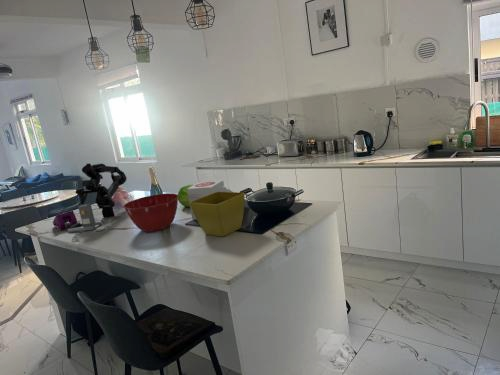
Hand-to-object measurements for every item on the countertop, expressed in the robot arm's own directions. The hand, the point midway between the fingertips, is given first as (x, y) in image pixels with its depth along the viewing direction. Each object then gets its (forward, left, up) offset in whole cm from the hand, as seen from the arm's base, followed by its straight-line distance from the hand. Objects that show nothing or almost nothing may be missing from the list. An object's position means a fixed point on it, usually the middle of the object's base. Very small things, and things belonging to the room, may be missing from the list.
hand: (88, 203), depth 219 cm
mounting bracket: (+18, -16, -14) cm, 27 cm away
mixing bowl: (-33, +37, -14) cm, 51 cm away
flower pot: (-60, +70, -14) cm, 93 cm away
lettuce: (-60, +12, -14) cm, 63 cm away
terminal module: (+2, +4, -13) cm, 13 cm away
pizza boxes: (-67, +38, -14) cm, 78 cm away
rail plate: (+5, +2, -14) cm, 15 cm away
